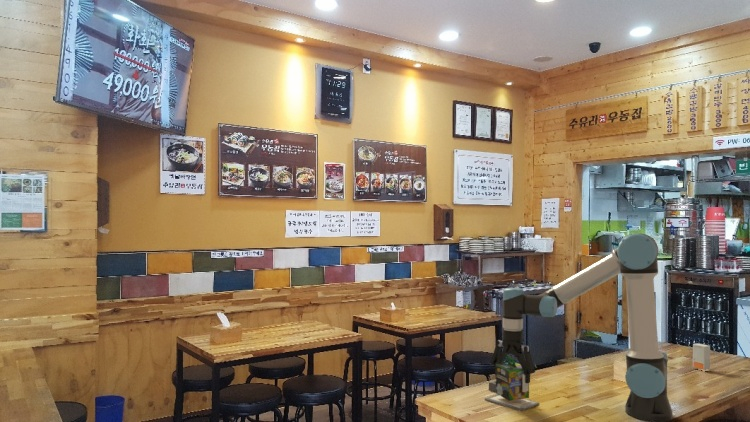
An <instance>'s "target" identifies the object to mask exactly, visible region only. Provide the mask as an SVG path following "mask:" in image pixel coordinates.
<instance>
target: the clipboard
mask: <svg viewBox="0 0 750 422" xmlns="http://www.w3.org/2000/svg"><path fill="white" fill-rule="evenodd" d="M484 401H487V402H490V403H493V404H497V405H499V406H503V407H506V408H509V409H513V410H516V411H519V412H523V411H525V410H529V409H530V408H534V407H536V406H539V405H540V402H537V401H534V400H530V399H529V398H524V399H517V400H510V401H508V400H507V399H505V398H503V397H502V396H500V395H498V394H494V395H492V396H487V397H485V398H484Z"/></svg>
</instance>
